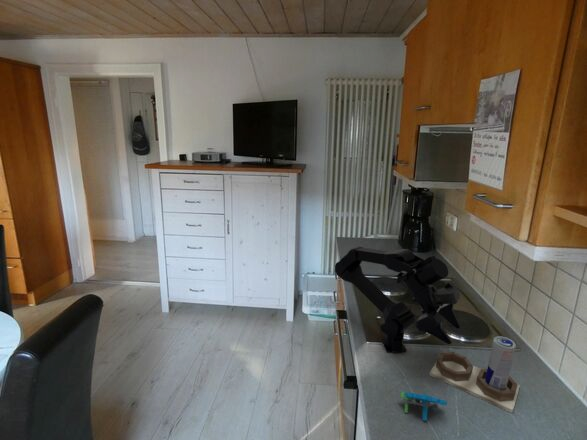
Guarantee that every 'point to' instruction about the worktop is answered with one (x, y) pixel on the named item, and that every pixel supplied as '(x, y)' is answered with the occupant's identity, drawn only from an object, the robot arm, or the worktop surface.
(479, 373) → the socket plate
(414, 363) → the worktop surface
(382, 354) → the worktop surface
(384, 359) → the worktop surface
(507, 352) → the beverage can
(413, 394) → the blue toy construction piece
